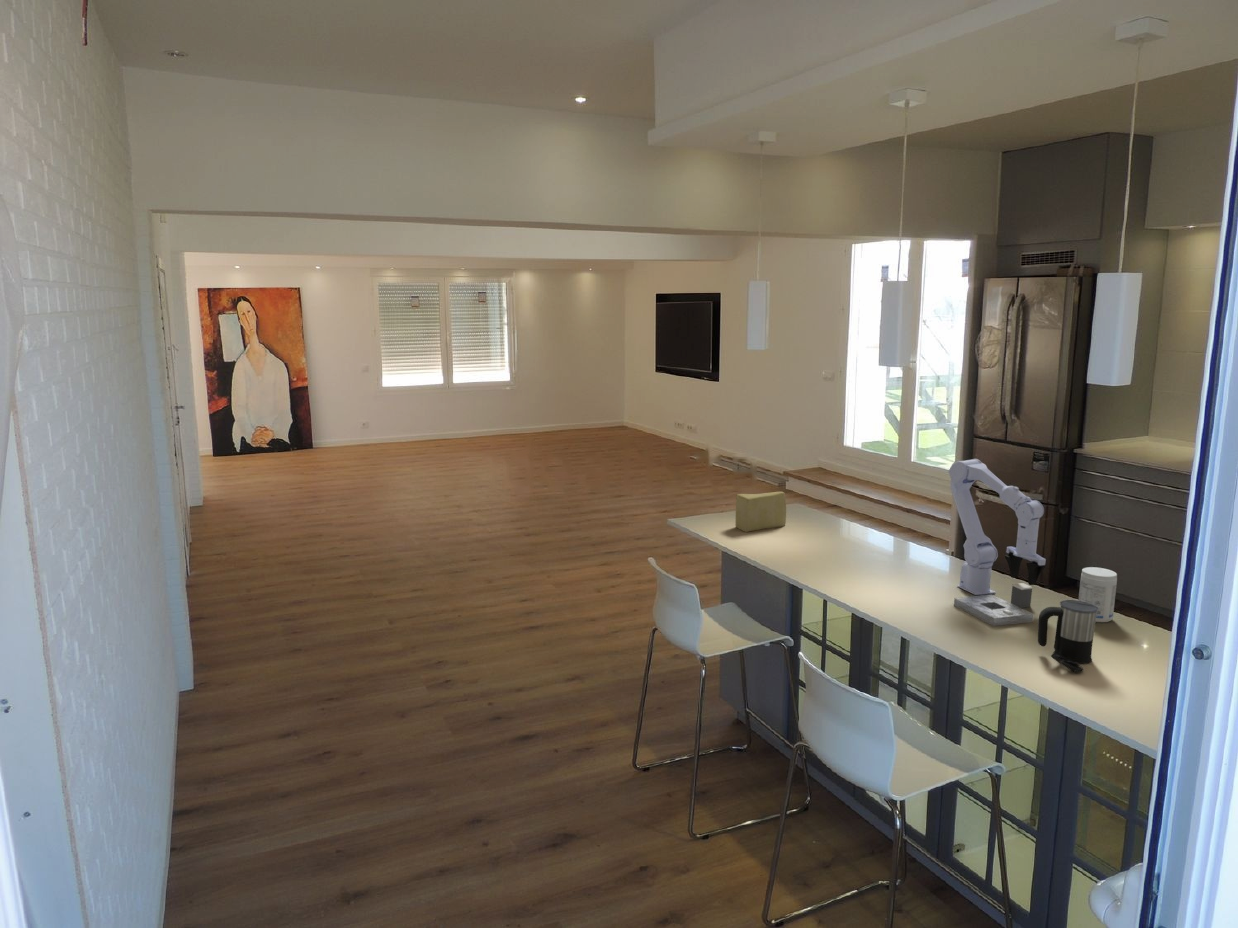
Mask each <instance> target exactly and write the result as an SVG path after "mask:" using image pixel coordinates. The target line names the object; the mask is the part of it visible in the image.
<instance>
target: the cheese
mask: <svg viewBox="0 0 1238 928" xmlns="http://www.w3.org/2000/svg"><path fill="white" fill-rule="evenodd" d="M735 497H736V498H735V523H734V524H735V528H737V529H738V530H740V531H743V532H744V533H749V532H753V531H760V530H764V529H765V530H766V529H772V528H779V527H785V526H786V523H787V503H786V502H787V501H786V500H787V499H786V498H787V497H786V493H785V492H783V491H774V492H773V491H772V492H763V493H738V494H736V496H735Z"/></svg>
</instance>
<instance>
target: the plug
mask: <svg viewBox="0 0 1238 928" xmlns="http://www.w3.org/2000/svg"><path fill="white" fill-rule="evenodd" d="M1011 586H1012V587H1011V599H1010V603H1011V604H1013V605H1016V606H1018V607H1020V608H1022V609H1024V608H1031V604H1032V594H1033V593H1032V592H1033V589H1034V588H1033V587H1032V585H1029V584H1026V583H1023V582H1022V583H1021V582H1019V583H1011Z"/></svg>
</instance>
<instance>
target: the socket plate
mask: <svg viewBox="0 0 1238 928" xmlns="http://www.w3.org/2000/svg"><path fill="white" fill-rule="evenodd" d="M953 606H954V607H956V608H958V609H959V610H962V611H963V612H965V613H967V614H969V615H970V616H973V617H975V618H977V619H979V620H980V621H983V622H985V623H987V624H988V625H990V626H992V627H998V626H1007V625H1009V626H1010V625H1015V624H1025V623H1033V621H1034V613H1032V612H1030V611H1028V610H1026V609H1024V608H1020V607H1018V606H1016V605H1013V604H1011V602H1009V601H1007V600H1005V599H1002V598H1000V597H998V596H996V595H994V594H983V595H975V596H974V595H971V596H963V597H961V596H960V597H954V599H953Z"/></svg>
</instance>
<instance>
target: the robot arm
mask: <svg viewBox="0 0 1238 928" xmlns="http://www.w3.org/2000/svg"><path fill="white" fill-rule="evenodd" d="M948 475H949V476H950V491H951V494H952V497H953V500H954V503H955V506H956V510H957V513H958V516H959V520H960V521H961V522H960V523H961V525H962V528H963V531H964V534H965V536H966V540H965V542H964V543H963V545H962V546H963V551H964V552H963V553H964V554H963V557H964V560H965V562H964V563H963V564H962V565H961V568H960V575H959V576H960V577H959V584H957V585H956V587H958V588H960V589H961V590H964V591H966V592H967V593H968V592H969V593H971V594H972V595H973V596H974V595H975V596H980V595H990V594H992V595H994V594H996V593H997V592H996V591H995V590H992V589H991V588H990V587H991V579H992V569H993V568H992V567H993V565H994V562H996V560H997V558H998V557H999V554H998V553H999V552H998V549H997V548H996V546H995V545H994V544H993V542H992V540H991V538H989V536H987V535H986V534H985V533H984V530H983V528H982V524H981V520H980V518H979V514H978V512H977V509H976V506H975V502H974V501H973V497H972V494H971V491H970V489H971V488H972V486H973V484H974V483H975V482H976V481H981V482H982V484H984V485H986V486H988V487H989V488H990V489H992V490H993V491H995V492H996V493H998V495H999V500H1000V501H1002V502H1003V503H1004V504H1005V505H1007V506H1008V507H1009V508H1011V509H1012V510H1013V511H1014V512H1015V516H1016V517H1017V524H1018V525H1017V533H1016V534H1017V535H1016V545H1015V546H1016V547H1015V546H1006V550H1005V553H1007V554H1006V555H1004V558H1005V560H1006V562H1007V564H1008V568H1009V573H1010V578H1012V579H1013V578H1019V574H1020V567H1021V564H1022V560H1023V559H1024V560H1028V561H1030V562H1026V567H1027V572H1028V573H1027V574H1028V575H1027V576H1028V577H1027V579H1028V580H1027V581H1028V583H1027V585H1029V586H1035V585H1037V584H1036V583H1037V582H1038V579H1039V577H1040V575H1041V573H1042V571H1044V569H1045V568H1046V562H1047V561H1046V560H1047V559H1046V558H1044V557H1042V556H1041V555H1039V554H1037V546H1038V537H1039V529H1040V527H1039V526H1040V519H1041V518H1043V516H1044V513H1045V508H1044V505H1043V504H1042V503H1041V502H1040V501H1039V500H1036V499H1031V497H1030V496H1027V495H1025V494H1024V493H1023V492H1022V491H1020V488H1019V487H1018V486H1014V485H1007V484H1005V483H1004V482H1003V481H1002V480H1001V479H1000V478H998V477H997V475H995V474H994V473H993V472H992V471H991V470H990V469H989V468H988V467H987V464H986V463H983V462H982V461H981V460H980V459H978V458H973V459H972V458H971V459H967V460H956V461H955V462H953V463H952V464H951V466H950V468H949V469H948Z"/></svg>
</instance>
